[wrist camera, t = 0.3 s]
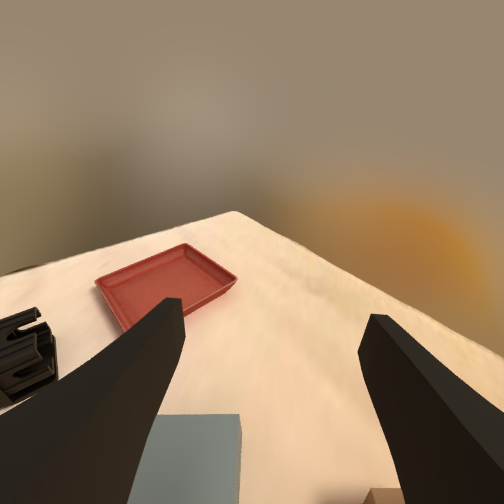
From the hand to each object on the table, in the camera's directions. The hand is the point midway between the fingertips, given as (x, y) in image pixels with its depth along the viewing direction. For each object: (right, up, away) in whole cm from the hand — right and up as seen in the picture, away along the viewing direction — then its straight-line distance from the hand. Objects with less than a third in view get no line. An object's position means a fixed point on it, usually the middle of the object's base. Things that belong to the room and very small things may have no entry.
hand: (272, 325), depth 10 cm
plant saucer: (-15, -5, +35) cm, 38 cm away
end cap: (-30, -13, +22) cm, 39 cm away
